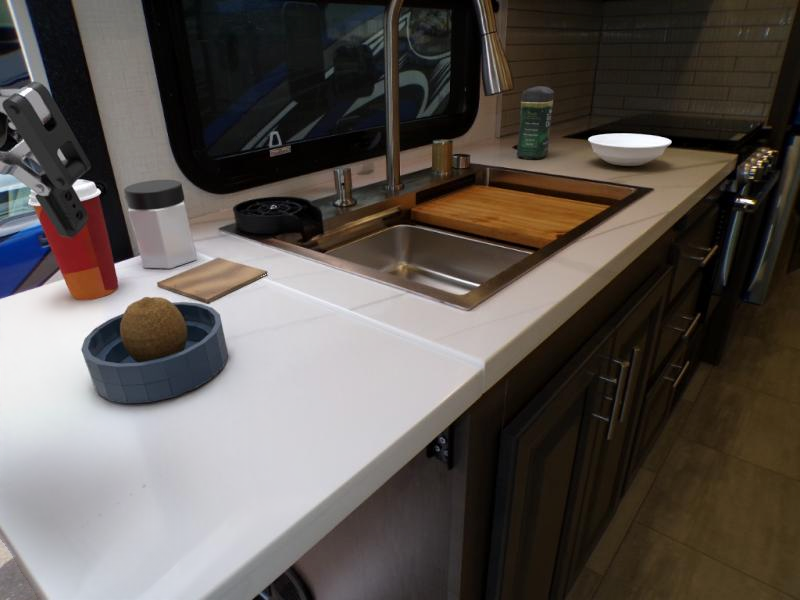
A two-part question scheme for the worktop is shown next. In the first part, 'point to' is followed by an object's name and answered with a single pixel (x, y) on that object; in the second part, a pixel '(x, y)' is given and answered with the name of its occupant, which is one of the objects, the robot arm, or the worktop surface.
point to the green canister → (535, 122)
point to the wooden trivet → (212, 279)
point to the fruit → (153, 329)
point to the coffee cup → (83, 247)
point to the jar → (160, 223)
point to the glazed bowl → (162, 376)
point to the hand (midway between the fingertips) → (23, 225)
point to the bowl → (628, 148)
